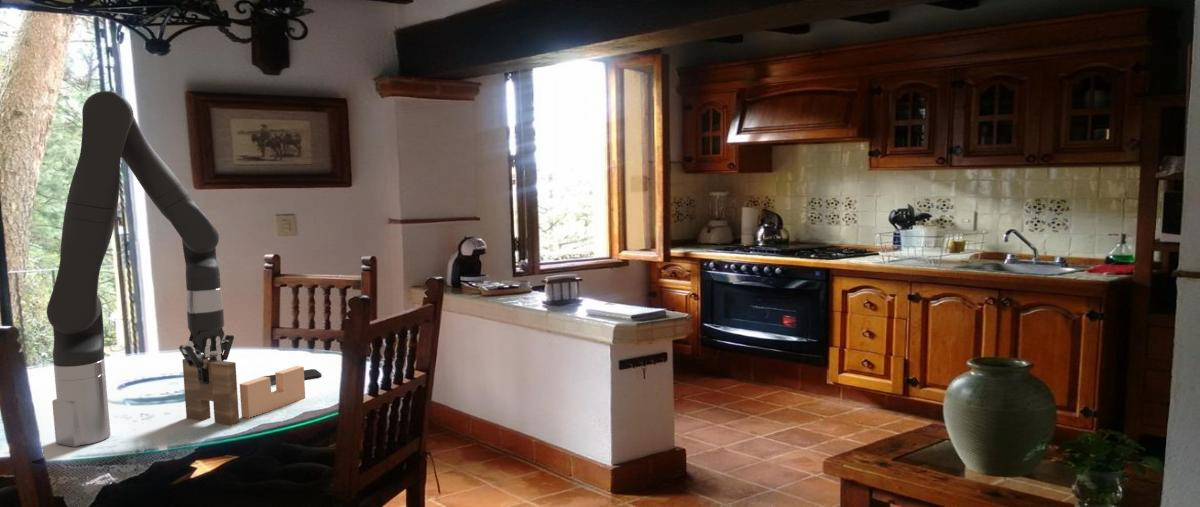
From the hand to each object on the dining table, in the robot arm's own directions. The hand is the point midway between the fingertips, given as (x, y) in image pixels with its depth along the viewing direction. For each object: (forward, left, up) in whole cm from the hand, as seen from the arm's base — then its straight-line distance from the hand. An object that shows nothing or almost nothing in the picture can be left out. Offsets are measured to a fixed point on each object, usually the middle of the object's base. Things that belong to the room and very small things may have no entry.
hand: (209, 381), depth 190 cm
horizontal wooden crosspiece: (+13, -6, -9) cm, 17 cm away
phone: (+35, +10, -10) cm, 38 cm away
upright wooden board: (0, 0, -9) cm, 9 cm away
